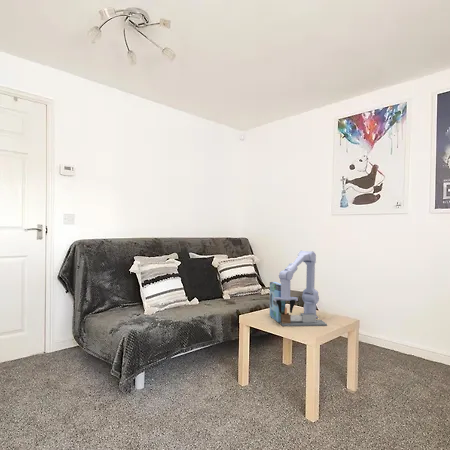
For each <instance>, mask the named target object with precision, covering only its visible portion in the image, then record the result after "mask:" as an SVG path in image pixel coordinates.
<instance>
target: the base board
mask: <svg viewBox="0 0 450 450" xmlns="http://www.w3.org/2000/svg"><path fill="white" fill-rule="evenodd" d="M279 324H280V325H281V326H282V327H327V326H328V324H327V322H325V321H324V320H322V319H316V323H302V322H301V321H291V323H282V322H281V321H280V323H279Z"/></svg>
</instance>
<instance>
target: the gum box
mask: <svg viewBox="0 0 450 450" xmlns="http://www.w3.org/2000/svg"><path fill="white" fill-rule="evenodd" d="M274 297H281V282H277V281H270V282H269V317H271V318H272V319H273V320H274V321H276V322H277V323H278V324H280V321H281V313H284V308H286V301H281V303H282V304H281V313H280V312H279V307H278V304H277V302H276V301H274Z"/></svg>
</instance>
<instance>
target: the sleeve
mask: <svg viewBox="0 0 450 450" xmlns="http://www.w3.org/2000/svg"><path fill="white" fill-rule="evenodd" d="M299 315H302V321H301V322H302V323H316V320H317V318H316V316H317V314H316V315H315V314H314V313H304V312H300V314H299Z"/></svg>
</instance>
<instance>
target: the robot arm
mask: <svg viewBox="0 0 450 450" xmlns="http://www.w3.org/2000/svg"><path fill="white" fill-rule="evenodd" d="M316 259H317V255H316V253H315V251H313V250H312V251H311V250H310V251H309V250H300V251H298V252H297V257H296V258H295V259H294V261H293V262H290V263H288V265H287V266H286V267H285V268H284V270H283V269H282V270H281V271H280V272H279V275H278V278H279V283H280V284H281V297H274V301H276V302H277V304H278V307H279V312H280V313H281V304H282V303H281V301H285V302H286V301H289V314H293V309H294V306H295V305H296V302H298V301H299V297H298V296H291V280H292V279H293V276H294V274H295V273H296V271H297V270H298V266H300V265H301V264H302V263H304V264H305V265H306V283H305V284H306V285H305V288H304V290H303V291H302V296H301V299H302V301H303V303H304V304H303V313H314V314H315V315H316V319H318V318H319V316H317V304H318V303H319V300H320V296H319V292H318V290H317V289H315V278H316V277H315V276H316V274H315V273H316V267H315V266H316V265H315V264H316V263H317V261H316Z"/></svg>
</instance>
